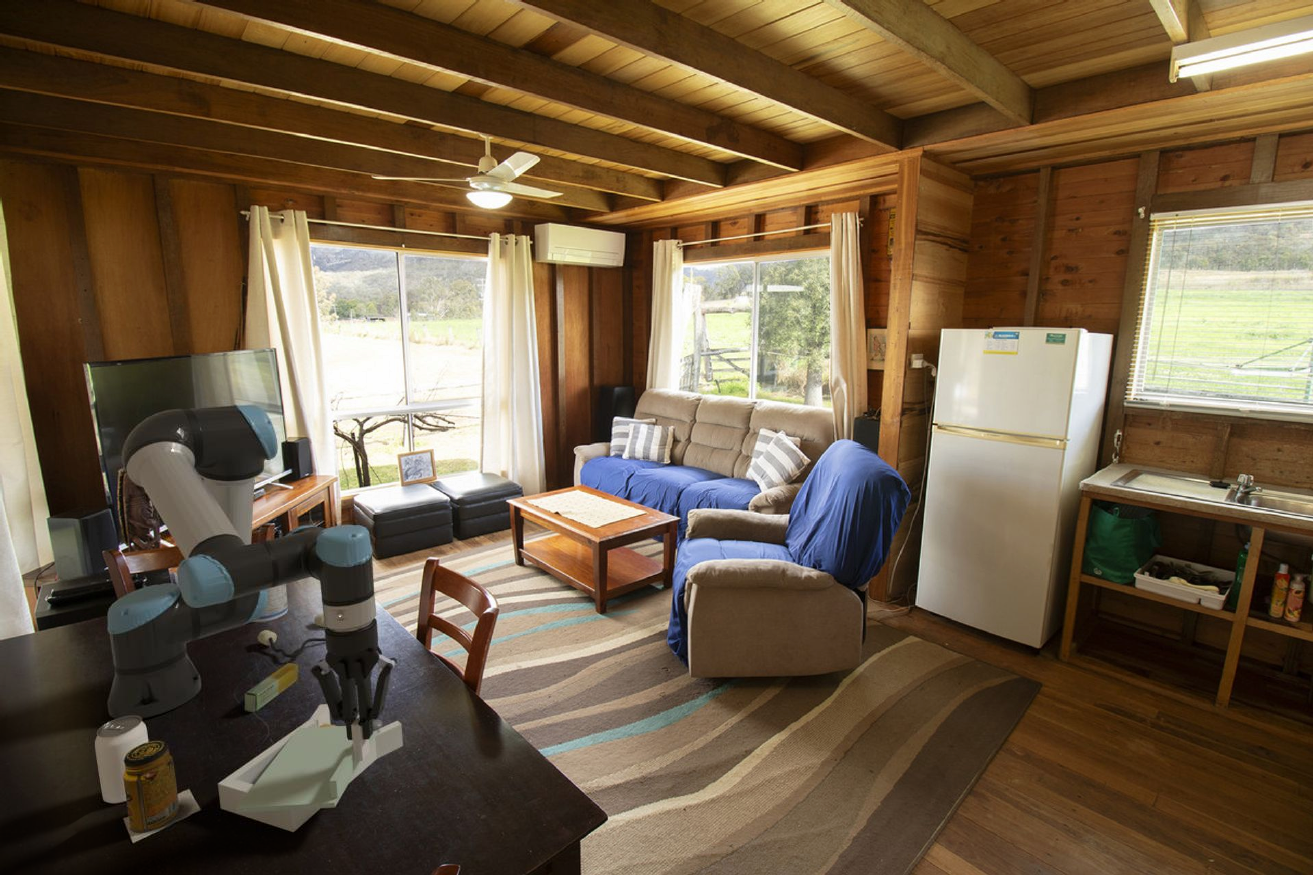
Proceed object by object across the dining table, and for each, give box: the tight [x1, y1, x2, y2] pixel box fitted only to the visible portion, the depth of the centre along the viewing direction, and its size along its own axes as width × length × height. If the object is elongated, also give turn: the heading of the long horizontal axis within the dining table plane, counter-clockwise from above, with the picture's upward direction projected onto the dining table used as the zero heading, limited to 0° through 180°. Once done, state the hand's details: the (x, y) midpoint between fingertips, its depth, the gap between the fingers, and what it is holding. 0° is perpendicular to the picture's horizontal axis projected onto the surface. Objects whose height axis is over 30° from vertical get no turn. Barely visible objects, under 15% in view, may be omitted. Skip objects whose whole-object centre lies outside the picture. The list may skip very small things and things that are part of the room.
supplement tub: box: [251, 584, 289, 623], centre depth 164 cm, size 10×10×15 cm
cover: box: [235, 719, 383, 814], centre depth 101 cm, size 15×20×4 cm
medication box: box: [244, 662, 299, 713], centre depth 129 cm, size 12×3×4 cm, turn 171°
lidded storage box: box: [217, 703, 404, 833], centre depth 106 cm, size 22×19×4 cm
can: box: [94, 715, 149, 804], centre depth 100 cm, size 6×6×12 cm
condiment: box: [123, 740, 202, 844], centre depth 95 cm, size 7×8×12 cm
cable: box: [257, 613, 326, 658], centre depth 150 cm, size 16×16×4 cm
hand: (362, 755), depth 100 cm, fingers closed
